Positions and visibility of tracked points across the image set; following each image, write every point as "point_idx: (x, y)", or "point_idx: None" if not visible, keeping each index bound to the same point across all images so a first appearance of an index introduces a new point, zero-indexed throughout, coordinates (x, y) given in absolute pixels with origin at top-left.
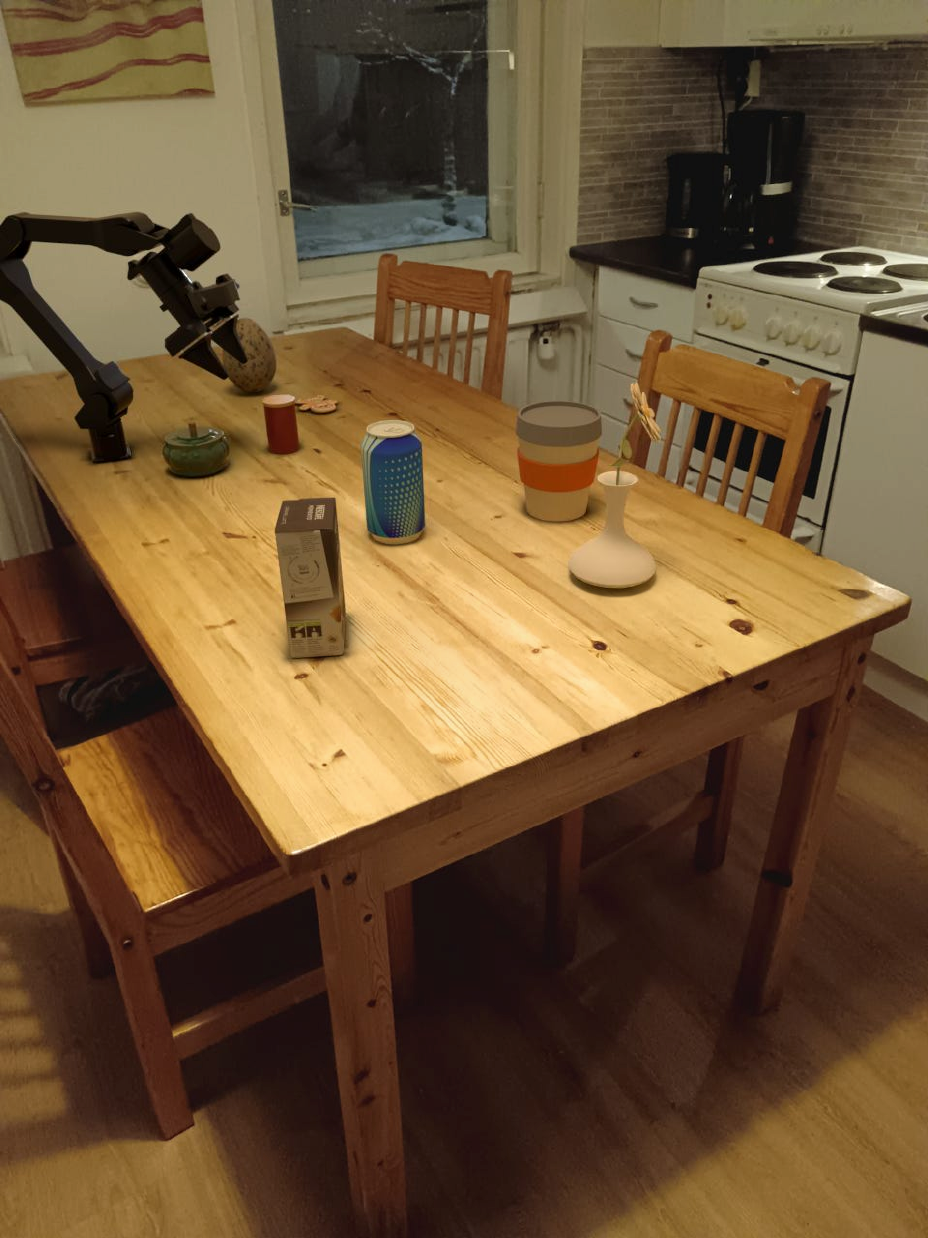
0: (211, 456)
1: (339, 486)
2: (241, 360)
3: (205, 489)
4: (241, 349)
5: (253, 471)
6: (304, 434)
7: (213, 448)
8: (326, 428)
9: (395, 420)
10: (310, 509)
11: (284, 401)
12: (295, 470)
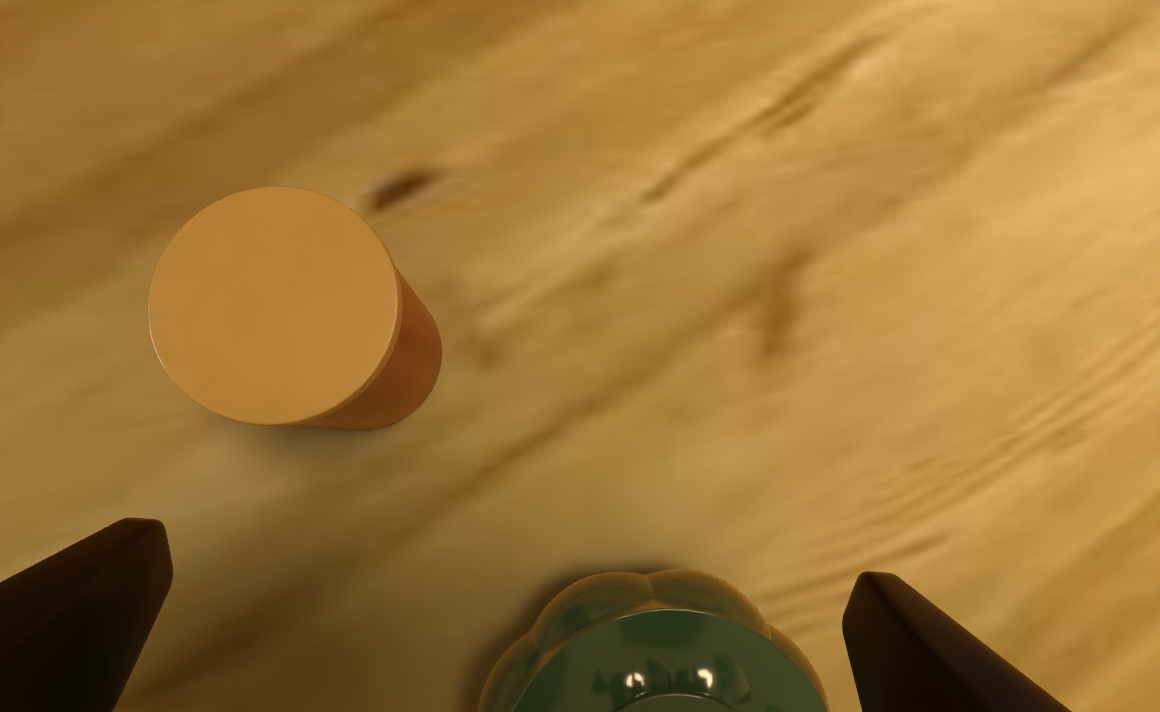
0: (770, 627)
1: (813, 41)
2: (142, 608)
3: None
4: (29, 628)
5: (664, 433)
6: None
7: (760, 626)
8: (59, 197)
9: None
10: None
11: (329, 247)
12: (647, 246)
